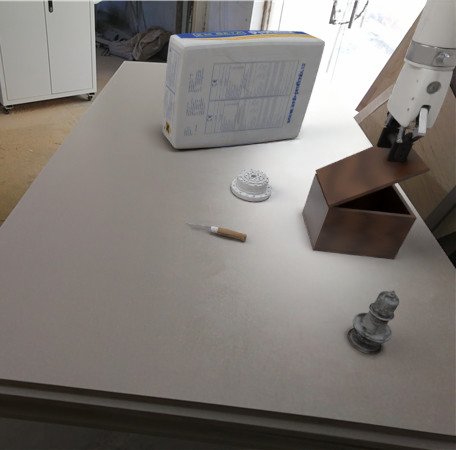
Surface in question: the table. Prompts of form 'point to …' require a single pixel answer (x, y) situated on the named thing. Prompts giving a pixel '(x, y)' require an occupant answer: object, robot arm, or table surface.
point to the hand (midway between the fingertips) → (390, 153)
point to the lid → (366, 173)
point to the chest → (358, 222)
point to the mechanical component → (251, 186)
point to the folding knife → (220, 231)
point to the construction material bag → (238, 86)
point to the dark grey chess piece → (374, 324)
